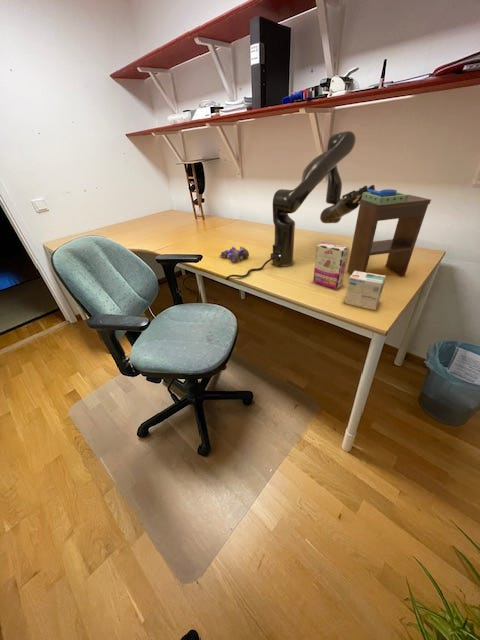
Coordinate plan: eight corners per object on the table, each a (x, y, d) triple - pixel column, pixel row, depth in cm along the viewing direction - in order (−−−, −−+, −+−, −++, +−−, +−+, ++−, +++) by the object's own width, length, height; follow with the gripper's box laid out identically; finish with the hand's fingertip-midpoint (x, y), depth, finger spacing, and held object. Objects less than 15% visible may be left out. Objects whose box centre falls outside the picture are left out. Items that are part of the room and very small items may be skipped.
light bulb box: (379, 302, 93) (387, 275, 87) (375, 311, 88) (383, 283, 82) (348, 295, 98) (354, 269, 92) (343, 303, 94) (349, 276, 87)
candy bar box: (342, 285, 105) (350, 246, 95) (336, 290, 102) (343, 250, 93) (318, 278, 112) (323, 241, 102) (312, 282, 109) (316, 244, 99)
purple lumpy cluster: (230, 252, 145) (229, 241, 141) (249, 258, 136) (248, 246, 132) (217, 257, 140) (216, 246, 136) (236, 264, 131) (235, 252, 127)
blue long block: (397, 199, 90) (400, 190, 88) (384, 201, 89) (386, 192, 88) (366, 191, 106) (368, 183, 104) (355, 192, 105) (356, 185, 104)
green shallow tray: (406, 202, 89) (408, 194, 88) (379, 205, 88) (381, 197, 87) (385, 196, 99) (387, 189, 98) (361, 199, 98) (362, 192, 97)
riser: (405, 276, 107) (431, 199, 90) (360, 282, 106) (378, 205, 88) (387, 265, 117) (407, 194, 100) (346, 271, 115) (359, 199, 98)
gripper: (331, 197, 116) (352, 179, 99) (360, 194, 117) (385, 176, 100) (333, 214, 117) (354, 199, 99) (362, 211, 118) (387, 195, 101)
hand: (370, 187), depth 100 cm, fingers closed on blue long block, 2 cm apart
